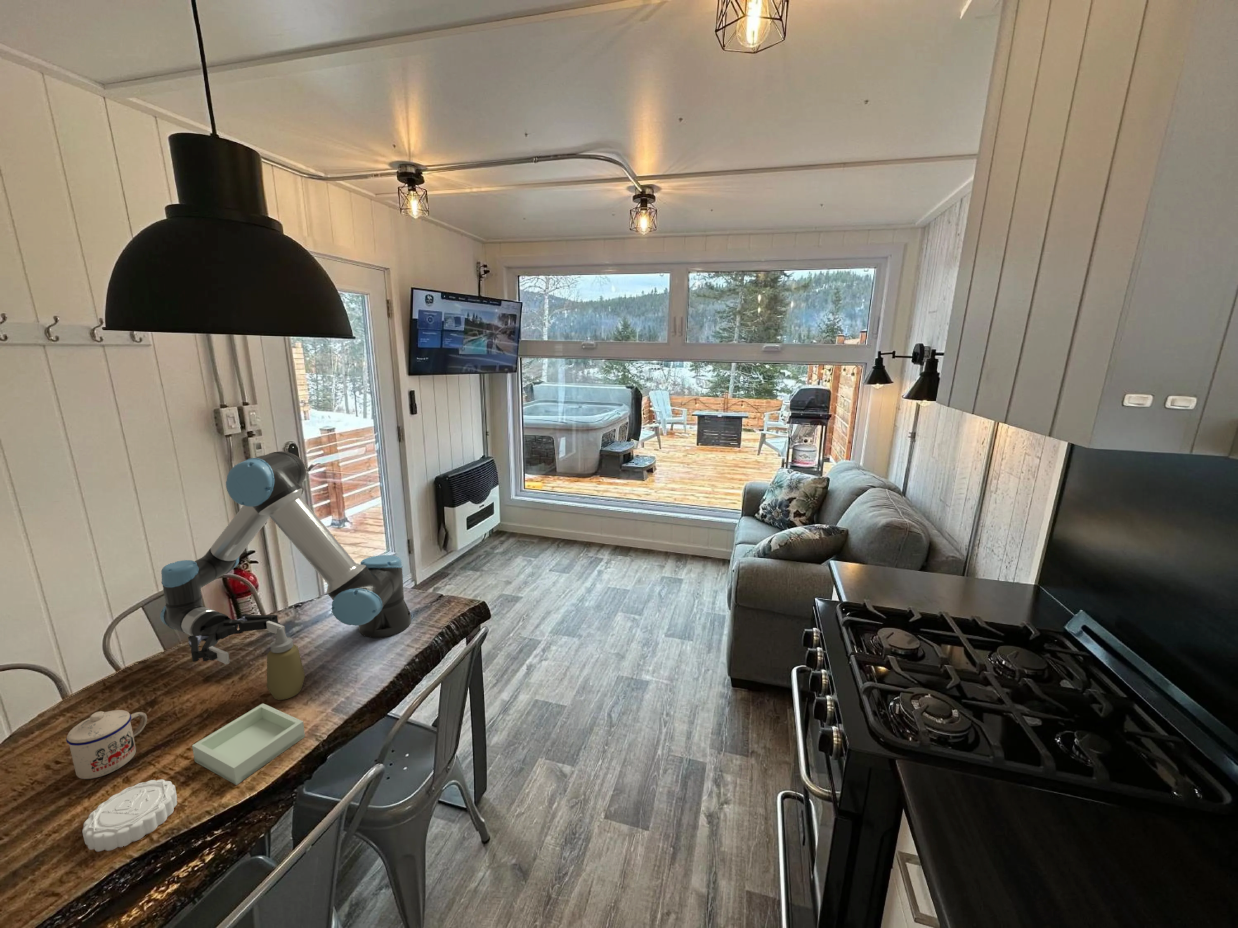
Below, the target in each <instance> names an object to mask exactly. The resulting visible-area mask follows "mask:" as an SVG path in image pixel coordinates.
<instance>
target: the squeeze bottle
mask: <svg viewBox="0 0 1238 928" xmlns="http://www.w3.org/2000/svg"><path fill="white" fill-rule="evenodd" d="M269 646H270V651H268V653H267V654H266V688H267V690H268V691H269V693H270V694H271V696H272V697H273V698H274V699H275V700H279V701H281V700H287V699H290V698H293V697H295V696H296V695H298V694H299V693H300V692H301V690H302V687H303V684H304V682H305V678H306V675H305V674H306V673H305V670H304V665H303V662H302V658H301V654H300V649H299V647H298V645H296V644H294V640H293V637H290V636H287V635H286V631H285V632H284V630H283V628H278V629H277V633H276V634H275V639H274V641H272V642H271V643H270V645H269Z"/></svg>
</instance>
